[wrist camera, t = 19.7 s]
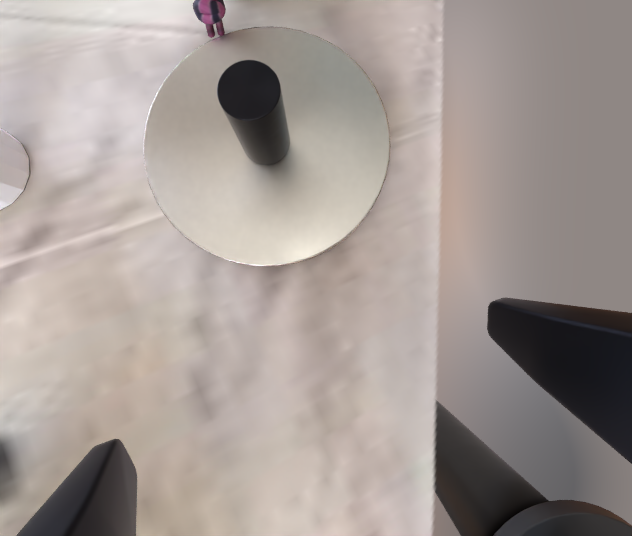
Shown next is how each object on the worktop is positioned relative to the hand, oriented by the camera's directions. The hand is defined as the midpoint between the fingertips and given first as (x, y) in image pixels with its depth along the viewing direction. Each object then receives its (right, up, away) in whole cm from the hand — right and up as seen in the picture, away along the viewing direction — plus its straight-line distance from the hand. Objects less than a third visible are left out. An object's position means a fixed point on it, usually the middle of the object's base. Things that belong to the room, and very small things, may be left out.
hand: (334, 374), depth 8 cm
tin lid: (-3, +10, +12) cm, 16 cm away
